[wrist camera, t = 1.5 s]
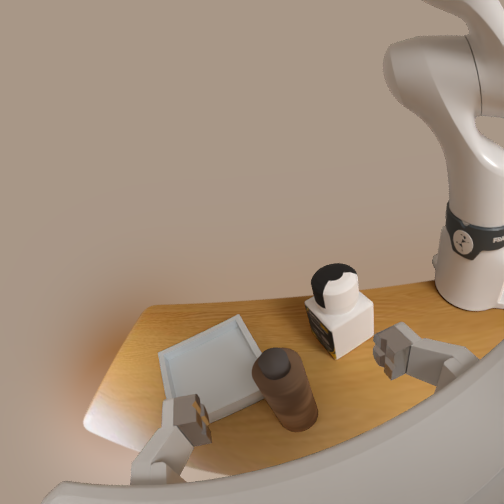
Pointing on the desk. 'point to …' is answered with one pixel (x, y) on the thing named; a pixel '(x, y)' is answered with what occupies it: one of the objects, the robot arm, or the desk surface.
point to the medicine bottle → (339, 310)
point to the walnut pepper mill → (286, 388)
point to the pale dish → (214, 368)
